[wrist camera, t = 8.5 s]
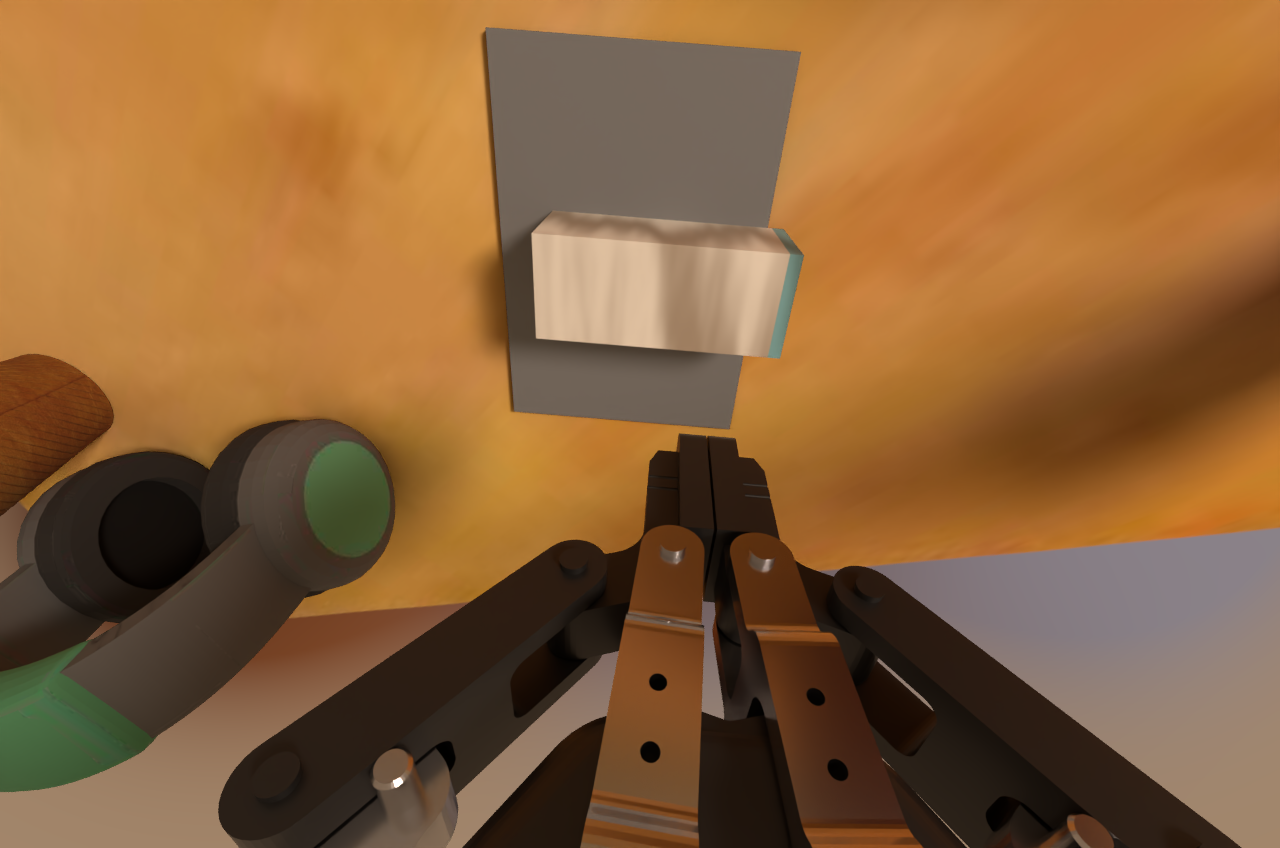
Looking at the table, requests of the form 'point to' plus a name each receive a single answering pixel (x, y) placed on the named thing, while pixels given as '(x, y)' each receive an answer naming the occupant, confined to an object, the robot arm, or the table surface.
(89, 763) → the headphones
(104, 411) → the disposable coffee cup
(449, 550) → the table surface
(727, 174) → the mat
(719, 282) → the cream block
